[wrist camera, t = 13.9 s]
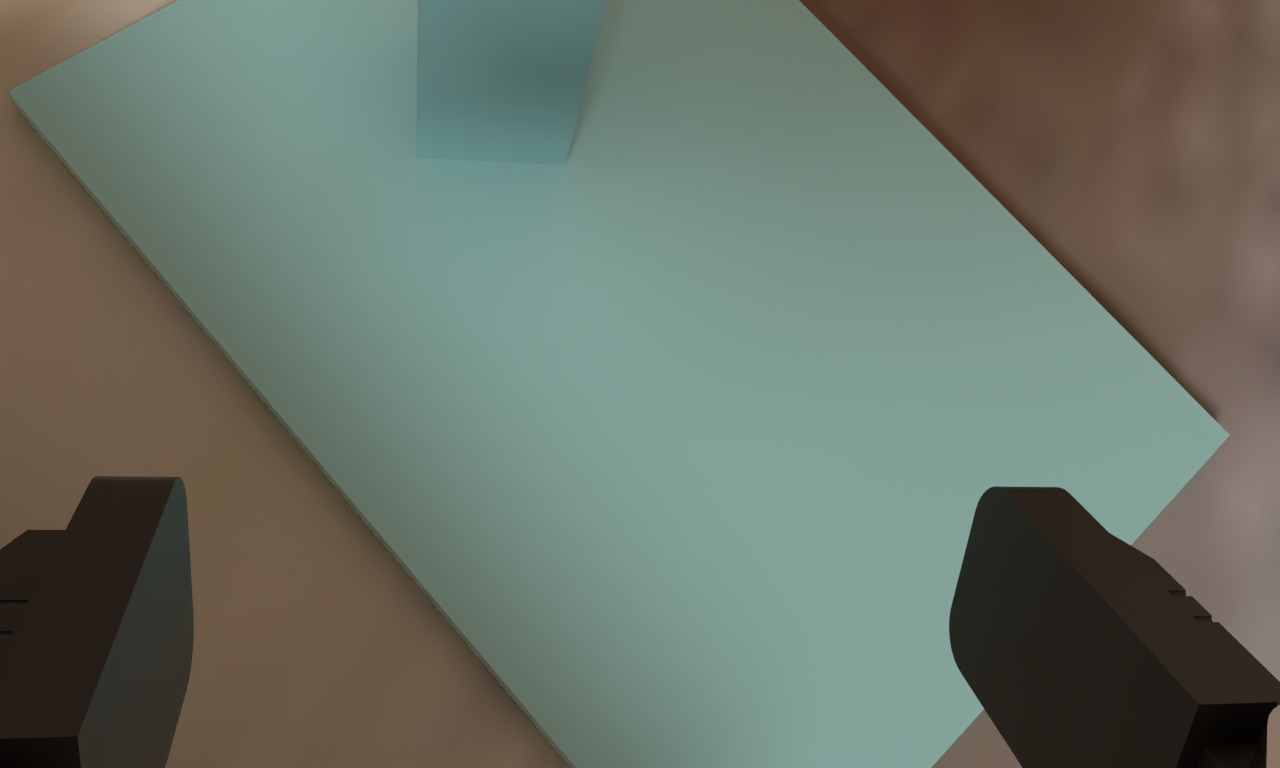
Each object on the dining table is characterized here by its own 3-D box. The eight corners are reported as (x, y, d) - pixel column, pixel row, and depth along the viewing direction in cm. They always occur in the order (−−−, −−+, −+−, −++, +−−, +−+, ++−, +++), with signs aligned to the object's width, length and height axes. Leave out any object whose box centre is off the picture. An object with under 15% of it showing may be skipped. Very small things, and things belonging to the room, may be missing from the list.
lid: (23, 120, 23) (-317, -519, 12) (578, -184, 29) (691, -813, 18) (731, 965, 20) (1128, 1131, 9) (1200, 449, 26) (1799, 167, 15)
